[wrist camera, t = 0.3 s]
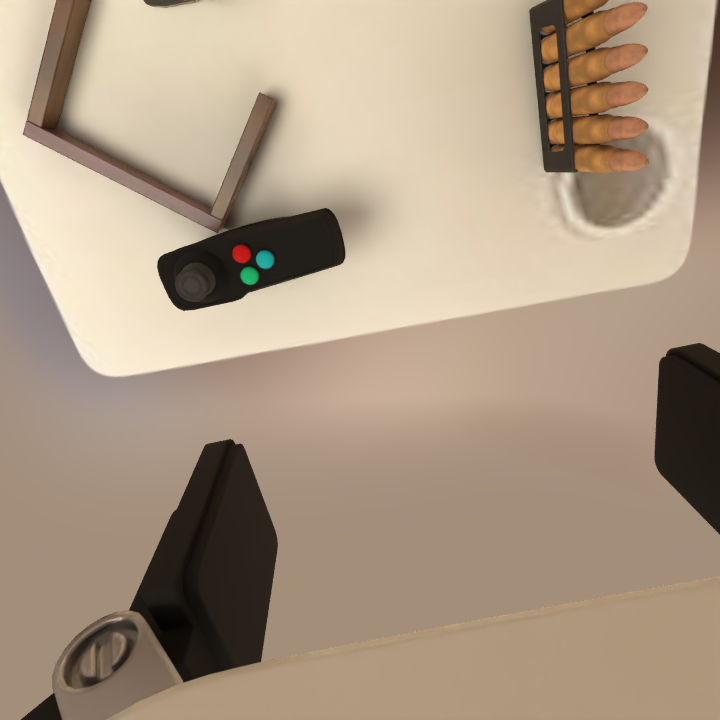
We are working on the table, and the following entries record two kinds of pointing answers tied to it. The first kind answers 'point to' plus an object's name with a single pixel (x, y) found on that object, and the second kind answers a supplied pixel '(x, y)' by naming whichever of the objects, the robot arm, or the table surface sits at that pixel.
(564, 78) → the ammunition clip
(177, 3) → the strap clip
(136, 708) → the robot arm
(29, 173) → the table surface
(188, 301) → the controller
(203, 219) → the frame
